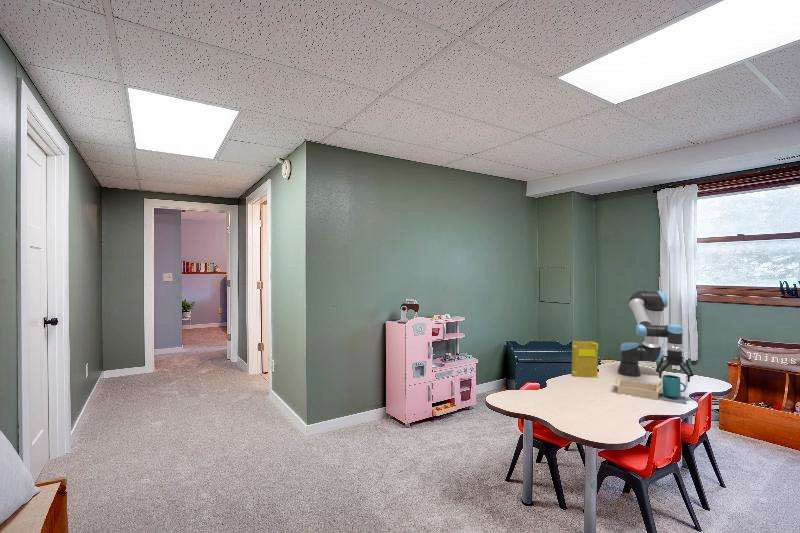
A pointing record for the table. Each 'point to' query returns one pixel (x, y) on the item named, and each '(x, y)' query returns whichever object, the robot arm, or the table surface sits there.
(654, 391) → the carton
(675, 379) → the cup
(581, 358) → the book
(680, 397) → the mat
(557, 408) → the table surface
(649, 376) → the table surface
